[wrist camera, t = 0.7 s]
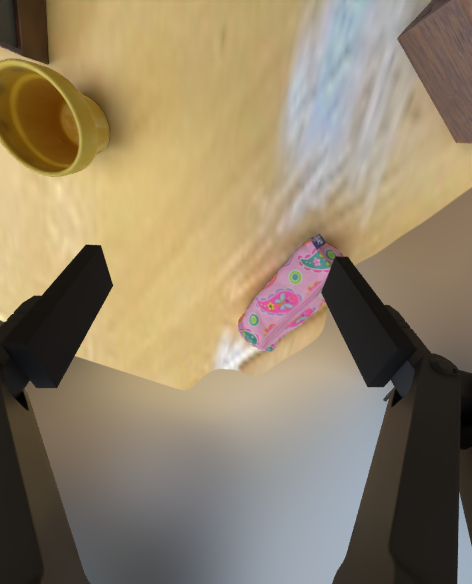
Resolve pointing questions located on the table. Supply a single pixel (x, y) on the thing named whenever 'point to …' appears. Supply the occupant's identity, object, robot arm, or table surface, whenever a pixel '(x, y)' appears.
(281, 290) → the pencil case
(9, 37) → the top block
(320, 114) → the table surface
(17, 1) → the base block
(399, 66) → the table surface
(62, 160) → the flower pot
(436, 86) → the tissue box cover
